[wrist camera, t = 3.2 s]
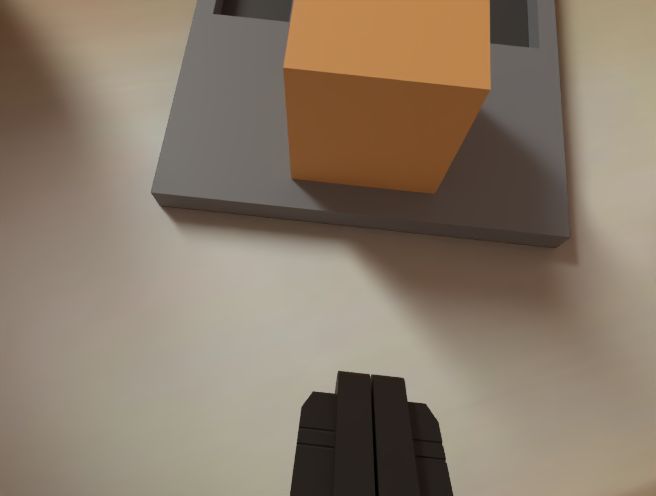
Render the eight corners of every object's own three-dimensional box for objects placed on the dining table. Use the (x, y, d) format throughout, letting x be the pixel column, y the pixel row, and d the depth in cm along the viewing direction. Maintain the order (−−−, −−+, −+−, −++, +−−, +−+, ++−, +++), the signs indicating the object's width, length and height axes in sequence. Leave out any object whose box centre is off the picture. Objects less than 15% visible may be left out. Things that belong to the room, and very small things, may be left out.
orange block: (435, 194, 25) (490, 89, 17) (291, 178, 25) (283, 67, 17) (438, 75, 27) (489, -63, 19) (307, 61, 27) (306, -82, 19)
